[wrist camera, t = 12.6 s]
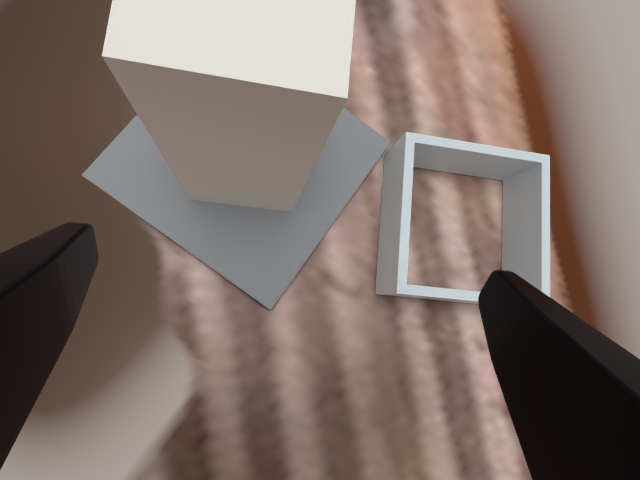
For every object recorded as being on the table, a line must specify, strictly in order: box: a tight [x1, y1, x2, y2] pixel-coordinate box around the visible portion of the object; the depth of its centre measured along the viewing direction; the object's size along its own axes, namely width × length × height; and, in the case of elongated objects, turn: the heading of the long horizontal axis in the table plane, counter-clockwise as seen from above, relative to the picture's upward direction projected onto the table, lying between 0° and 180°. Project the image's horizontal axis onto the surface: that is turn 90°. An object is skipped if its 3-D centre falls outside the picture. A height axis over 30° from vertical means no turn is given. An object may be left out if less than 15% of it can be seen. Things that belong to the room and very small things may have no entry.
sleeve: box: [375, 132, 550, 304], centre depth 23 cm, size 8×8×4 cm
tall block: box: [102, 0, 356, 212], centre depth 16 cm, size 6×6×13 cm
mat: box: [82, 107, 390, 310], centre depth 23 cm, size 12×12×1 cm
